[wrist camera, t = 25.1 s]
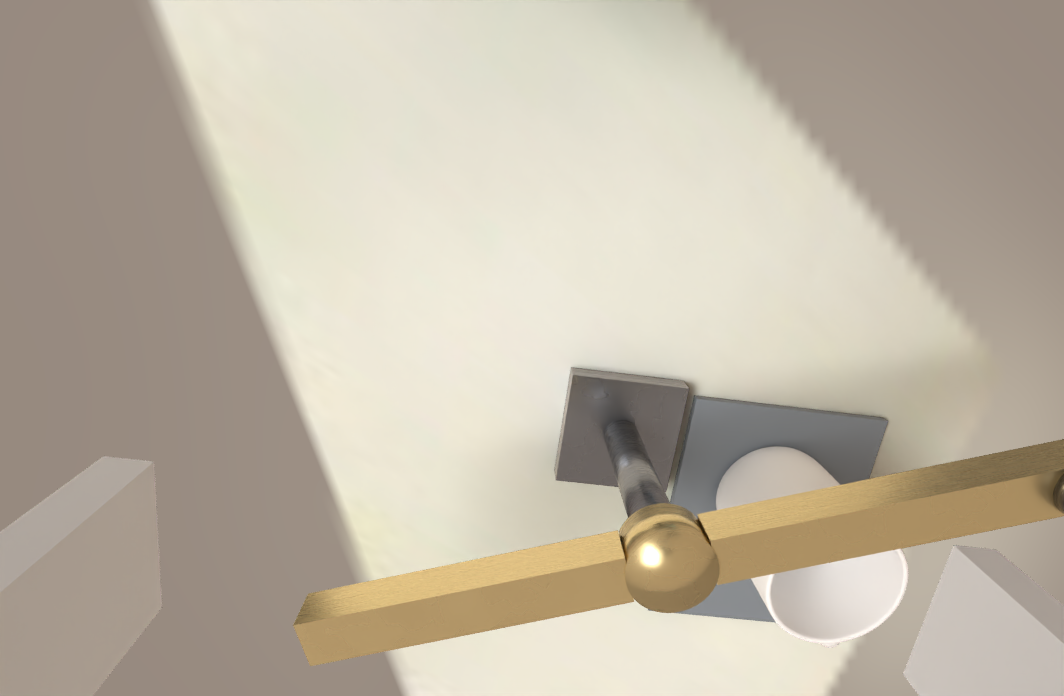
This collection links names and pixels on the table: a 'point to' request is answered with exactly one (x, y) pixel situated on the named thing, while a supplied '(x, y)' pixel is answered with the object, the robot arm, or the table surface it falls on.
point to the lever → (685, 554)
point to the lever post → (621, 433)
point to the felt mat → (745, 427)
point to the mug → (823, 590)
